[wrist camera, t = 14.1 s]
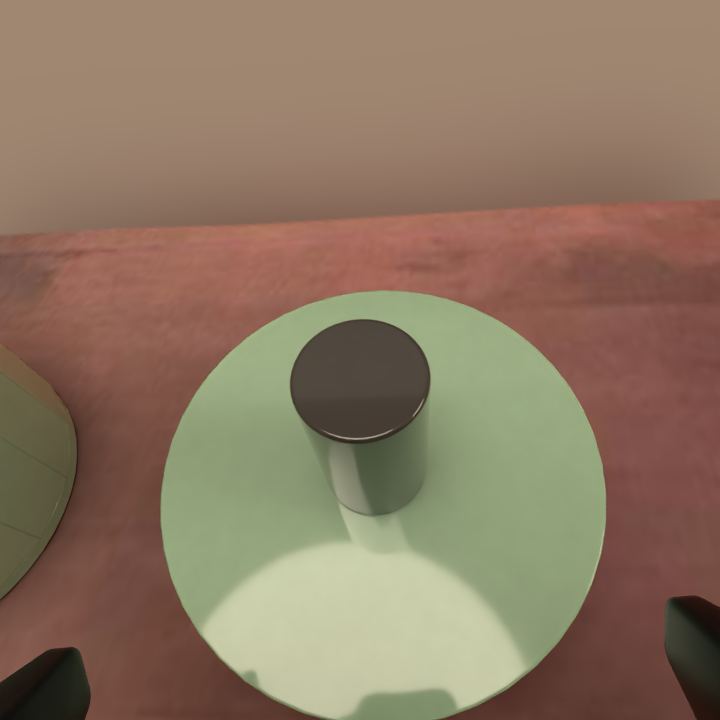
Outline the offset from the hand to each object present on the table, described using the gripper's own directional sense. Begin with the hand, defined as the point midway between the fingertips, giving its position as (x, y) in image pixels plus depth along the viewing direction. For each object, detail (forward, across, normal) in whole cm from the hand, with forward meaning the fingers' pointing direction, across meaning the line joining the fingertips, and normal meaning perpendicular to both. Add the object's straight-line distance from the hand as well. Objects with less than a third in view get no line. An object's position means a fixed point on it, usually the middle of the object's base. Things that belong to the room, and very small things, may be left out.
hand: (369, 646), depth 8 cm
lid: (+7, 0, +1) cm, 7 cm away
